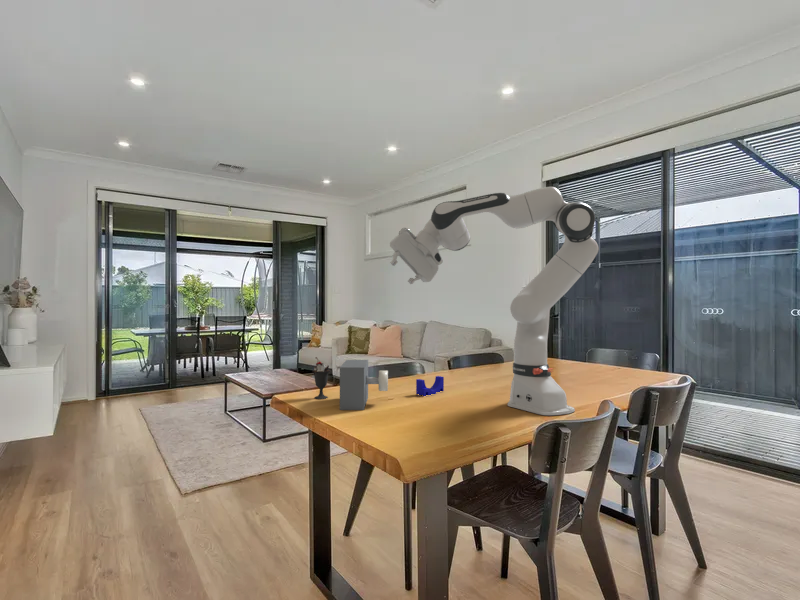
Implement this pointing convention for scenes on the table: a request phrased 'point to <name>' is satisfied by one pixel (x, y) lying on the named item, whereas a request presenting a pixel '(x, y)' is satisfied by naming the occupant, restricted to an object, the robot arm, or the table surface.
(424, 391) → the blue u-shaped block
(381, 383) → the knob
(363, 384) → the block
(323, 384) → the sundae
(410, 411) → the table surface
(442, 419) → the table surface
